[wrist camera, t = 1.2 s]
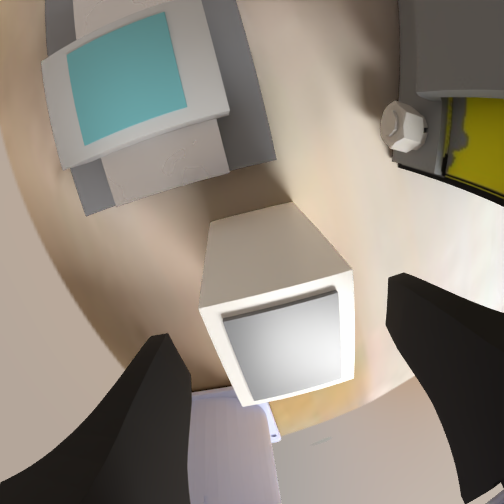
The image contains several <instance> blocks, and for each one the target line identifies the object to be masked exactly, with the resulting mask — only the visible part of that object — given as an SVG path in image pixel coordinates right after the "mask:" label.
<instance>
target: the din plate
mask: <svg viewBox="0 0 504 504" xmlns="http://www.w3.org/2000/svg"><path fill="white" fill-rule="evenodd" d="M201 1H202V5H203V9H204V12H205V16H206V20H207V24H208V27H209V31H210V35H211V39H212V43H213V47H214V50H215V54H216V58H217V62H218V66H219V70H220V74H221V78H222V81H223V85H224V89H225V93H226V97H227V101H228V105H229V109H230V112H229V115H228V116H224V117H220V118H216V119H217V123H218V127H219V131H220V134H221V138H222V142H223V146H224V150H225V154H226V158H227V162H228V166H229V170H230V171H231V170H235V169H239V168H243V167H248V166H252V165H256V164H260V163H265V162H269V161H274V160H277V159H276V154H275V150H274V145H273V141H272V136H271V132H270V128H269V123H268V119H267V115H266V111H265V107H264V103H263V98H262V94H261V90H260V86H259V83H258V79H257V75H256V71H255V67H254V63H253V59H252V56H251V52H250V48H249V45H248V41H247V38H246V34H245V30H244V27H243V24H242V20H241V17H240V13H239V10H238V7H237V3H236V0H201ZM45 23H46V42H47V54H48V57H49V56H51V55H52V54H54V53H55V52H57V51H59V50H60V49H62V48H63V47H65V46H67V45H69V44H70V43H72V42H74V41H76V32H75V22H74V9H73V0H45ZM70 169H71V173H72V176H73V179H74V182H75V186H76V189H77V192H78V195H79V198H80V201H81V203H82V206H83V209H84V212H85V215H86V216H89V215H91V214H94V213H96V212H99V211H102V210H104V209H107V208H110V207H113V206H116V204H115V201H114V198H113V195H112V192H111V189H110V186H109V183H108V180H107V177H106V174H105V170H104V167H103V164H102V160H101V158H99V159H97V160H94V161H92V162H89V163H86V164H82V165H79V166H76V167H73V168H70Z"/></svg>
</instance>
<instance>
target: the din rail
mask: <svg viewBox="0 0 504 504" xmlns="http://www.w3.org/2000/svg"><path fill="white" fill-rule="evenodd" d="M168 1H171V0H73V9H74V22H75V32H76V40H77V39H79V38H81V37H83V36H85V35H87V34H89V33H91V32H93V31H95V30H97V29H99V28H101V27H103V26H105V25H107V24H109V23H112V22H114V21H116V20H119V19H121V18H123V17H126V16H128V15H131V14H133V13H136V12H138V11H141V10H144V9H147V8H149V7H152V6H155V5H158V4H161V3H165V2H168ZM101 160H102V164H103V167H104V170H105V174H106V177H107V180H108V183H109V186H110V189H111V192H112V195H113V198H114V201H115V204H116V207H118V206H121V205H124V204H127V203H130V202H133V201H136V200H139V199H142V198H145V197H148V196H151V195H154V194H157V193H160V192H164V191H167V190H170V189H173V188H177V187H180V186H184V185H187V184H190V183H194V182H198V181H201V180H205V179H208V178H212V177H216V176H220V175H224V174H227V173H230V170H229V166H228V162H227V158H226V154H225V150H224V146H223V142H222V138H221V134H220V131H219V127H218V123H217V119H212V120H209V121H205V122H201V123H198V124H194V125H191V126H187V127H184V128H181V129H177V130H174V131H171V132H168V133H165V134H162V135H159V136H156V137H153V138H150V139H147V140H144V141H142V142H139V143H136V144H134V145H131V146H128V147H126V148H123V149H121V150H118V151H116V152H113V153H111V154H108V155H106V156H103V157H101Z"/></svg>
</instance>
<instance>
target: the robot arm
mask: <svg viewBox="0 0 504 504" xmlns="http://www.w3.org/2000/svg"><path fill="white" fill-rule="evenodd" d="M386 327H387V329H388V331H389V333H390V335H391V337H392V339H393V341H394V343H395V345H396V347H397V349H398V350H399V352H400V353H401V355H402V356H403V358H404V359H405V361H406V362H407V364H408V365H409V367H410V368H411V370H412V371H413V373H414V374H415V376H416V377H417V379H418V380H419V382H420V384H421V385H422V387H423V388H424V390H425V391H426V393H427V394H428V396H429V398H430V400H431V402H432V403H433V405H434V407H435V410H436V412H437V414H438V417H439V419H440V421H441V423H442V426H443V428H444V431H445V434H446V437H447V439H448V442H449V445H450V448H451V452H452V455H453V458H454V462H455V465H456V470H457V474H458V480H459V484H460V491H461V497H462V498H463V501H464V503H465V504H467V503H469V502H471V501H473V500H474V499H476V498H478V497H479V496H481V495H483V494H484V493H486V492H488V491H489V490H491V489H492V488H494V487H495V486H497V485H498V484H499V483H500V482H501V484H502V485H503V488H504V313H502V312H498V311H496V310H493V309H490V308H487V307H485V306H482V305H479V304H477V303H474V302H472V301H469V300H467V299H465V298H462V297H460V296H458V295H455V294H453V293H451V292H449V291H446V290H444V289H442V288H440V287H437V286H435V285H433V284H431V283H428V282H426V281H424V280H422V279H419V278H417V277H414V276H412V275H409V274H406V273H401V274H398V275H395V276H392V277H389V278H388V299H387V314H386ZM280 440H281V435H280V432H279V430H278V427H277V424H276V422H275V419H274V416H273V414H272V411H271V408H270V405H269V403H268V402H266V403H261V404H256V405H251V406H245V407H242V405H241V403H240V401H239V399H238V397H237V395H236V393H235V390H234V388H233V386H230V387H224V388H218V389H212V390H205V391H198V392H192V390H191V374H190V373H189V371H188V369H187V367H186V366H185V364H184V362H183V360H182V358H181V357H180V355H179V353H178V351H177V349H176V348H175V346H174V344H173V342H172V340H171V338H170V336H169V334H168V333H166V334H160V335H155V336H151V337H150V338H149V339H148V340H147V342H146V343H145V344H144V346H143V347H142V348H141V349H140V351H139V352H138V354H137V355H136V356H135V358H134V359H133V360H132V362H131V363H130V364H129V366H128V367H127V368H126V370H125V371H124V373H123V374H122V375H121V377H120V378H119V379H118V381H117V382H116V383H115V385H114V386H113V387H112V388H111V390H110V391H109V392H108V393H107V395H106V396H105V397H104V398H103V400H102V401H101V402H100V403H99V405H98V406H97V407H96V408H95V409H94V410H93V412H92V413H91V414H90V415H89V416H88V417H87V418H86V419H85V421H83V422H82V423H81V424H80V426H79V427H78V428H77V429H76V430H75V431H74V432H73V433H72V434H70V435H69V436H68V437H67V438H66V439H65V440H64V441H63V442H61V443H60V444H59V445H58V446H57V447H56V448H54V449H53V450H52V451H51V452H50V453H48V454H47V455H46V456H44V457H43V458H42V459H40V460H39V461H37V462H36V463H34V464H33V465H32V466H30V467H28V468H27V469H25V470H23V471H22V472H20V473H18V474H16V475H14V476H12V477H11V478H9V479H7V480H5V481H2V482H1V483H0V504H282V502H281V498H280V491H279V485H278V479H277V474H276V467H275V461H274V455H273V449H272V443H274V442H278V441H280ZM486 504H504V490H502V491H501V492H500V493H499V494H497V495H496V496H495V497H494V498H492V499H491V500H490V501H489V502H487V503H486Z"/></svg>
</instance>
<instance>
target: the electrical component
mask: <svg viewBox="0 0 504 504" xmlns="http://www.w3.org/2000/svg"><path fill="white" fill-rule="evenodd" d="M398 7H399V23H400V83H399V101H396V100H395V101H393V102H392V103H390V104H389V105H388V106H387V107H386V109H385V110H384V112H383V115H382V119H381V123H380V130H381V137H382V139H383V141H384V142H385V143H386V144H387V146H388V147H389V148H390V149H394V150H393V158H392V162H396V163H399V166H398V167H399V168H402V169H405V170H409V171H412V172H415V173H418V174H421V175H424V176H427V177H430V178H433V179H436V180H439V181H442V182H445V183H447V184H450V185H453V186H455V187H458V188H461V189H463V190H466V191H468V192H471V193H473V194H476V195H478V196H481V197H483V198H485V199H488V200H490V201H492V202H495V203H497V204H499V205H501V206H503V207H504V0H398Z"/></svg>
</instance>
